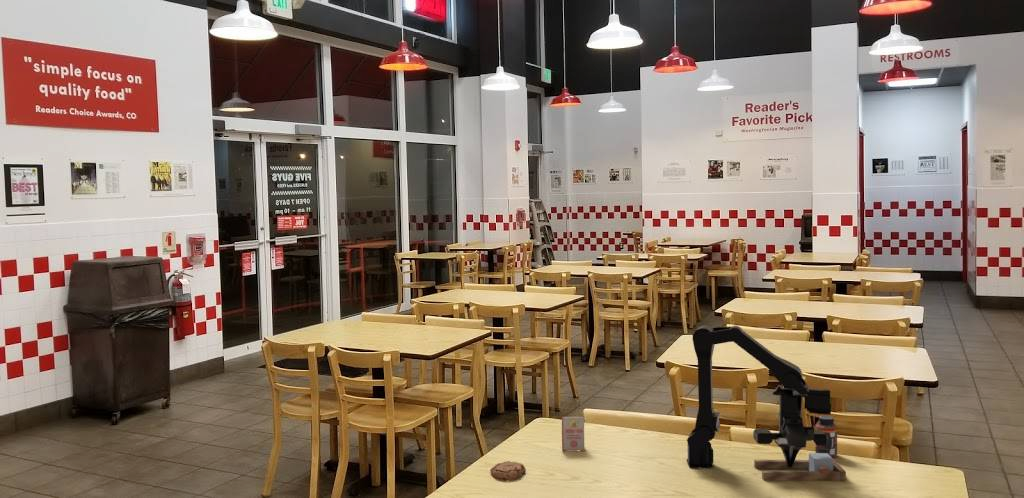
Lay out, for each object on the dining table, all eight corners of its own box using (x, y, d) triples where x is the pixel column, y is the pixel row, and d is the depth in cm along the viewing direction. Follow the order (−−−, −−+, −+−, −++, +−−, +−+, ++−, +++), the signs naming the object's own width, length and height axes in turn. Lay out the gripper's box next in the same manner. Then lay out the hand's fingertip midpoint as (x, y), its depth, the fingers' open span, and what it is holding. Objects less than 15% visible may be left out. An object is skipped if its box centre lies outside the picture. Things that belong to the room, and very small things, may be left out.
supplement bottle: (839, 459, 230) (839, 420, 229) (817, 458, 231) (817, 419, 230) (835, 452, 235) (835, 414, 235) (813, 451, 237) (813, 414, 236)
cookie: (494, 483, 216) (494, 472, 216) (488, 470, 227) (487, 460, 227) (530, 479, 218) (529, 469, 218) (522, 467, 229) (521, 457, 229)
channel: (763, 480, 214) (763, 468, 213) (754, 466, 224) (754, 455, 224) (845, 480, 212) (845, 468, 212) (832, 467, 223) (832, 455, 223)
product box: (562, 447, 246) (562, 415, 246) (584, 447, 246) (583, 415, 245) (562, 450, 242) (561, 418, 242) (584, 451, 242) (583, 418, 241)
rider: (814, 477, 215) (814, 458, 215) (808, 470, 220) (809, 453, 220) (833, 477, 215) (833, 459, 215) (827, 471, 220) (827, 453, 220)
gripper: (762, 419, 210) (761, 476, 211) (835, 420, 209) (834, 478, 210) (753, 408, 221) (752, 463, 222) (822, 408, 220) (820, 464, 221)
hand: (789, 467), depth 218 cm, fingers closed
